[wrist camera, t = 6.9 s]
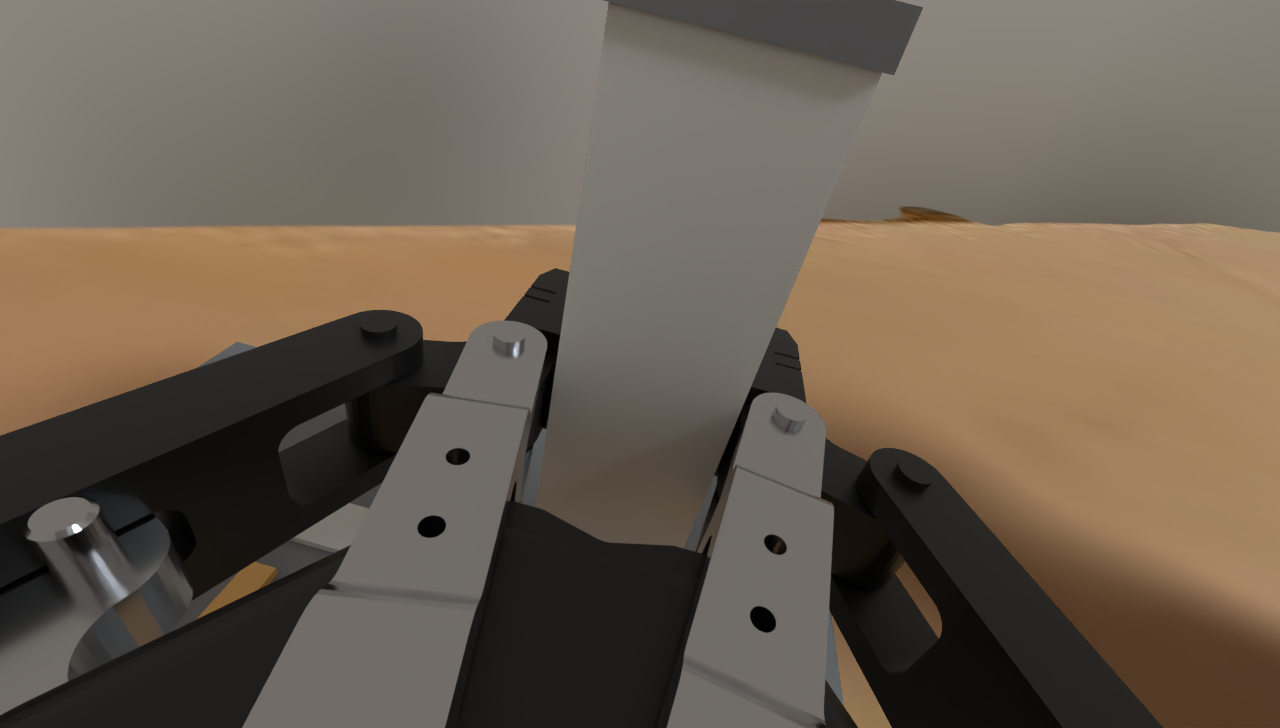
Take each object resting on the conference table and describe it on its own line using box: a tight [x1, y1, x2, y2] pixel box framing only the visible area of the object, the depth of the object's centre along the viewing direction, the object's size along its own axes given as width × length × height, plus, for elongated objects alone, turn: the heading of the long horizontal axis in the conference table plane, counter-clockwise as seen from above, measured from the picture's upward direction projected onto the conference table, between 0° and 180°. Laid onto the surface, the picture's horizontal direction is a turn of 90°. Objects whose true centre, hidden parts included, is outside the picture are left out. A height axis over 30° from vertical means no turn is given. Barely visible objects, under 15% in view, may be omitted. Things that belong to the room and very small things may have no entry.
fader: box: [535, 0, 923, 548], centre depth 10 cm, size 3×3×14 cm
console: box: [171, 342, 844, 706], centre depth 15 cm, size 22×12×4 cm, turn 80°
